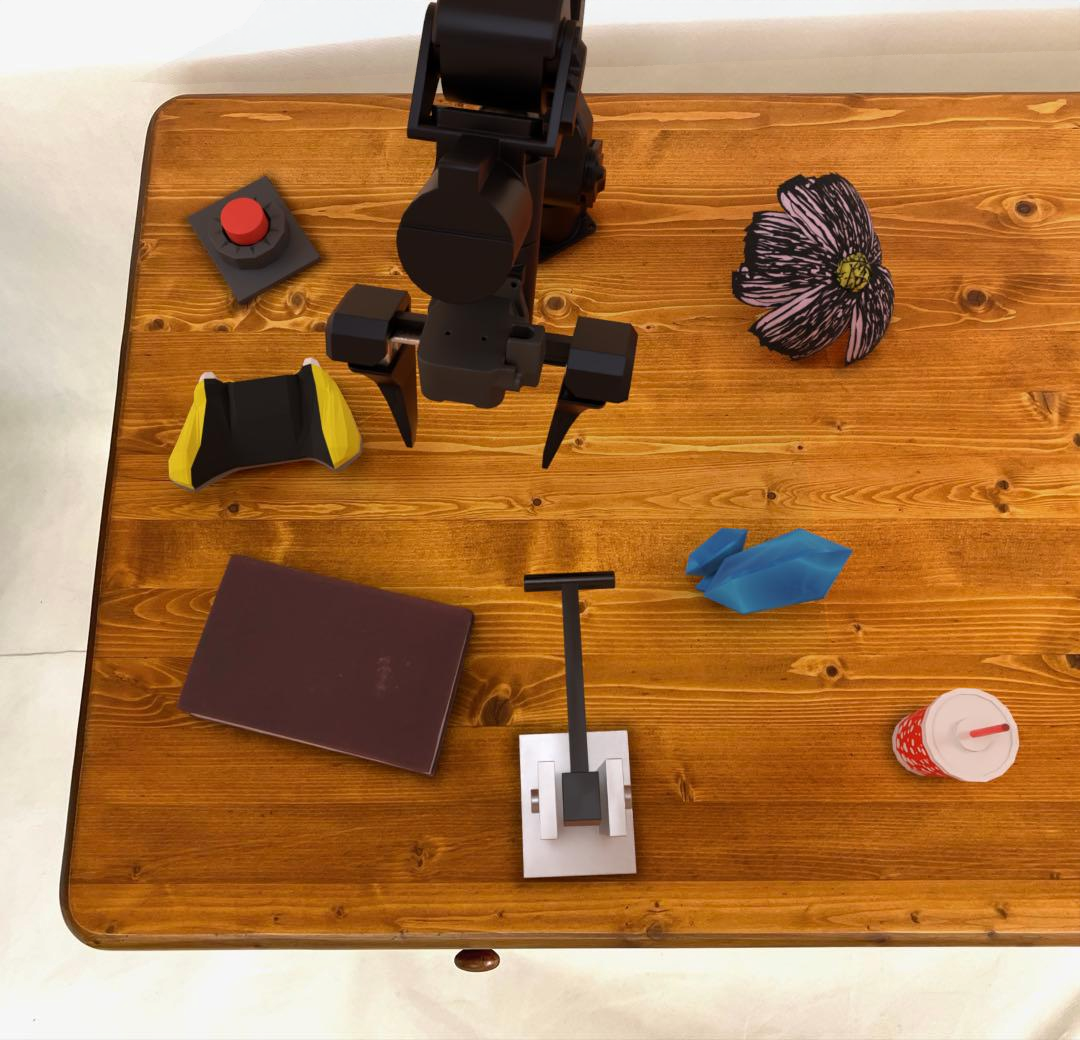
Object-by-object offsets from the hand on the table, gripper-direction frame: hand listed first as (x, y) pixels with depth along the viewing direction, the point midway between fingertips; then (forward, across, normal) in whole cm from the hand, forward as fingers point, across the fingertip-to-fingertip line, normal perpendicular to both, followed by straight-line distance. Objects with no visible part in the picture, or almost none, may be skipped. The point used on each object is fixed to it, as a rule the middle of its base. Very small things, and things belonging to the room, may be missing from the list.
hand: (478, 455), depth 66 cm
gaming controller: (+9, -19, +11) cm, 23 cm away
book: (+19, -10, -3) cm, 22 cm away
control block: (-2, -25, +25) cm, 36 cm away
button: (-3, -25, +24) cm, 35 cm away
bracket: (+23, +10, -9) cm, 27 cm away
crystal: (+12, +21, +6) cm, 25 cm away
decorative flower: (-2, +23, +26) cm, 35 cm away
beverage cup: (+18, +35, -2) cm, 40 cm away
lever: (+10, +9, -11) cm, 17 cm away
